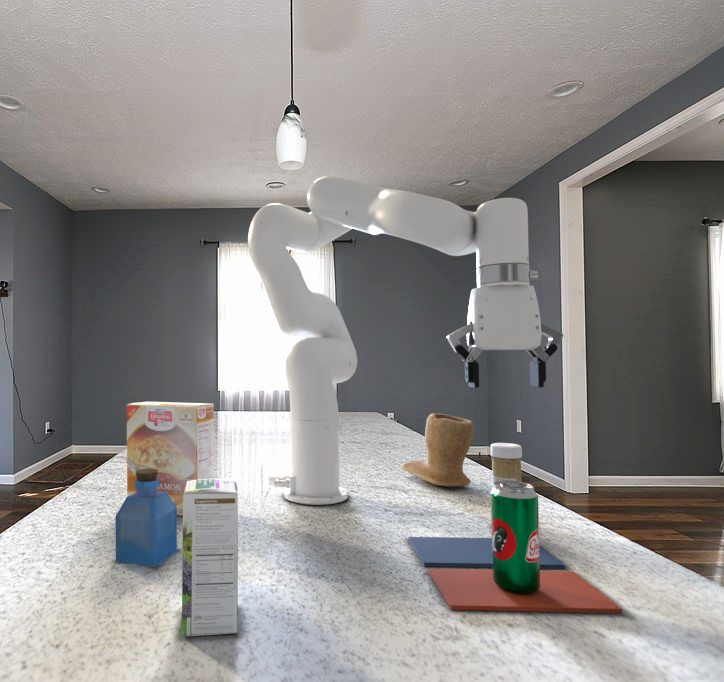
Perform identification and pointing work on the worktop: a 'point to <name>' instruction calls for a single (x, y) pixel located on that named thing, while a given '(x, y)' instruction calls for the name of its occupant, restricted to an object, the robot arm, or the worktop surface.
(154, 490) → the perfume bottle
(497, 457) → the sprinkles bottle
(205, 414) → the coffeecake box
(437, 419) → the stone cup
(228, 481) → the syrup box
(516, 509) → the soda can
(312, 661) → the worktop surface
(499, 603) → the terracotta mat
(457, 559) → the slate-blue mat
